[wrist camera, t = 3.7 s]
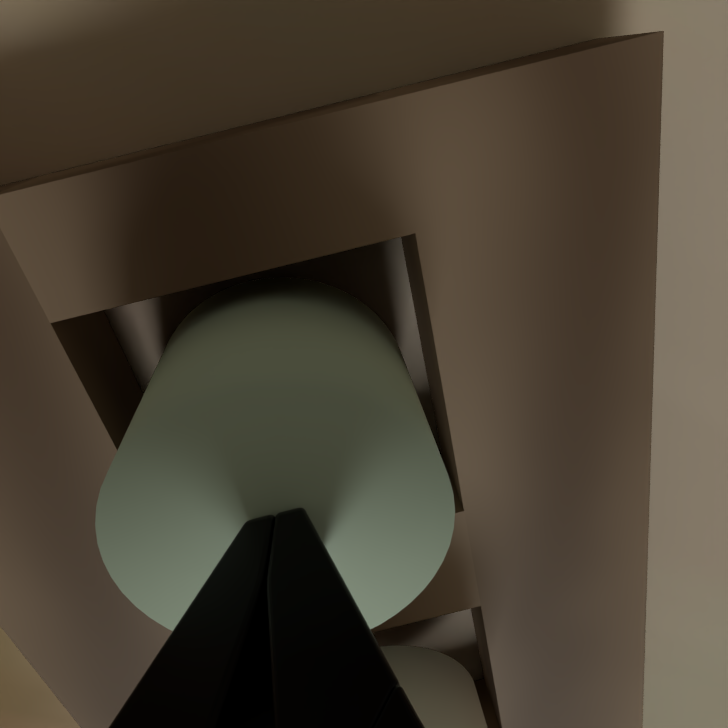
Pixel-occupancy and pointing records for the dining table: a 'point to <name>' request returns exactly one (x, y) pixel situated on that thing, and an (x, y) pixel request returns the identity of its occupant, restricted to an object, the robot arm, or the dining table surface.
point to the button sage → (277, 450)
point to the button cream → (436, 687)
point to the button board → (439, 345)
